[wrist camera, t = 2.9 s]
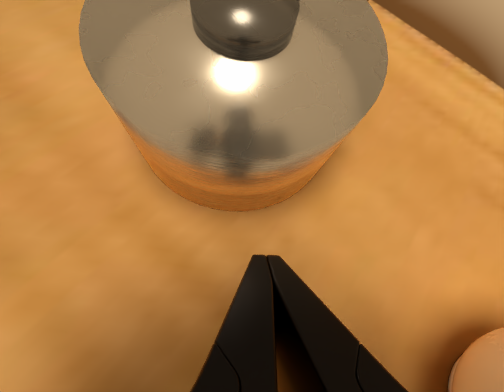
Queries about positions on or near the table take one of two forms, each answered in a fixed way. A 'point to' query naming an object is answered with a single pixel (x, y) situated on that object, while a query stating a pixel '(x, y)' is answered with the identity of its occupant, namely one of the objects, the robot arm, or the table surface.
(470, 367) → the lidded jar
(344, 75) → the cover
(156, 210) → the table surface
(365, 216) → the table surface
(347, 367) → the robot arm
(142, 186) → the table surface
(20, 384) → the table surface
